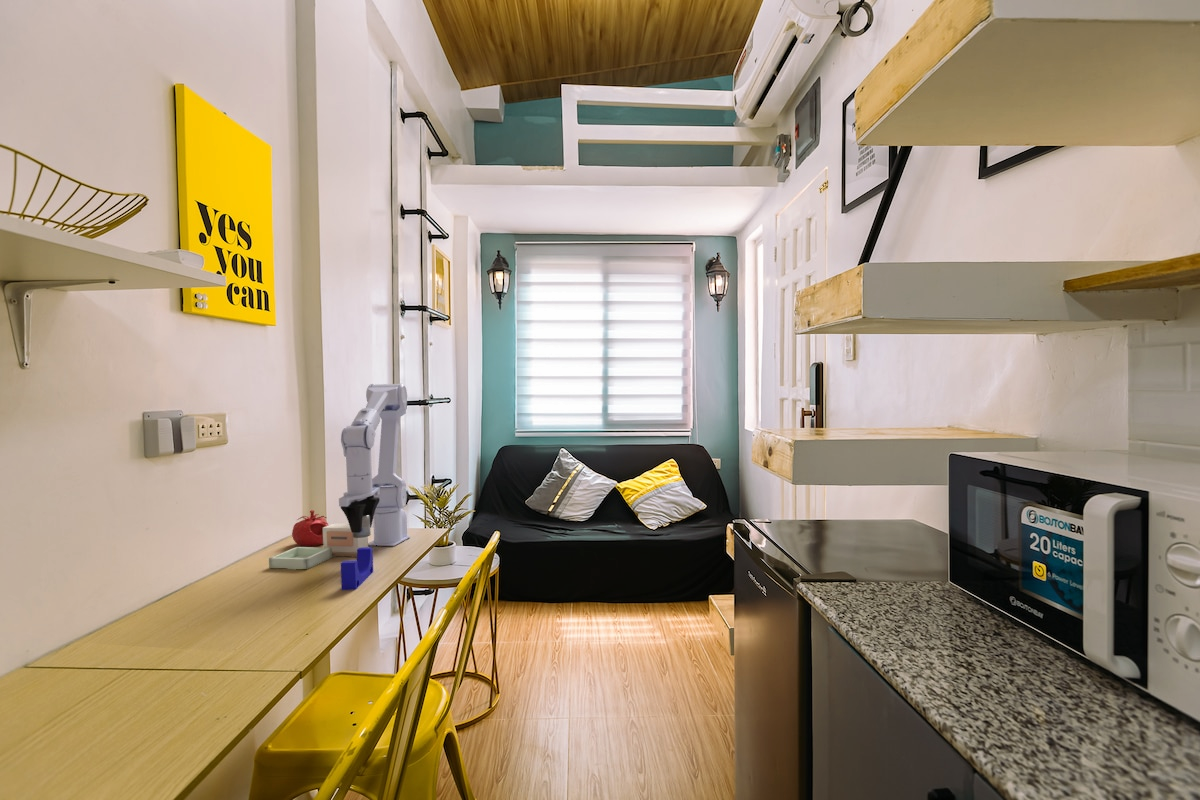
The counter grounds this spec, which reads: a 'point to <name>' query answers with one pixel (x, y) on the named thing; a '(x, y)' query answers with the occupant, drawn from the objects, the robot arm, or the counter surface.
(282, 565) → the parts tray
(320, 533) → the pomegranate
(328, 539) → the mounted housing
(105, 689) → the counter surface
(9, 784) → the counter surface
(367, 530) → the coupling
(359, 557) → the blue cradle block
